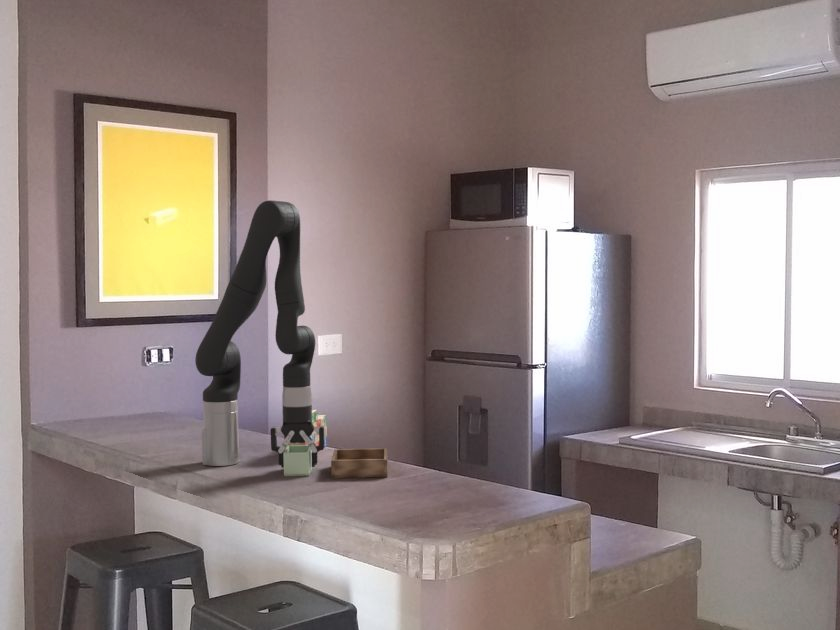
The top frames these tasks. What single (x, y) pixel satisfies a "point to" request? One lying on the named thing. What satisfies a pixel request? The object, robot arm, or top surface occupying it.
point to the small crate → (297, 460)
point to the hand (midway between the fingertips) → (298, 466)
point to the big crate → (359, 463)
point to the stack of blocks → (317, 422)
